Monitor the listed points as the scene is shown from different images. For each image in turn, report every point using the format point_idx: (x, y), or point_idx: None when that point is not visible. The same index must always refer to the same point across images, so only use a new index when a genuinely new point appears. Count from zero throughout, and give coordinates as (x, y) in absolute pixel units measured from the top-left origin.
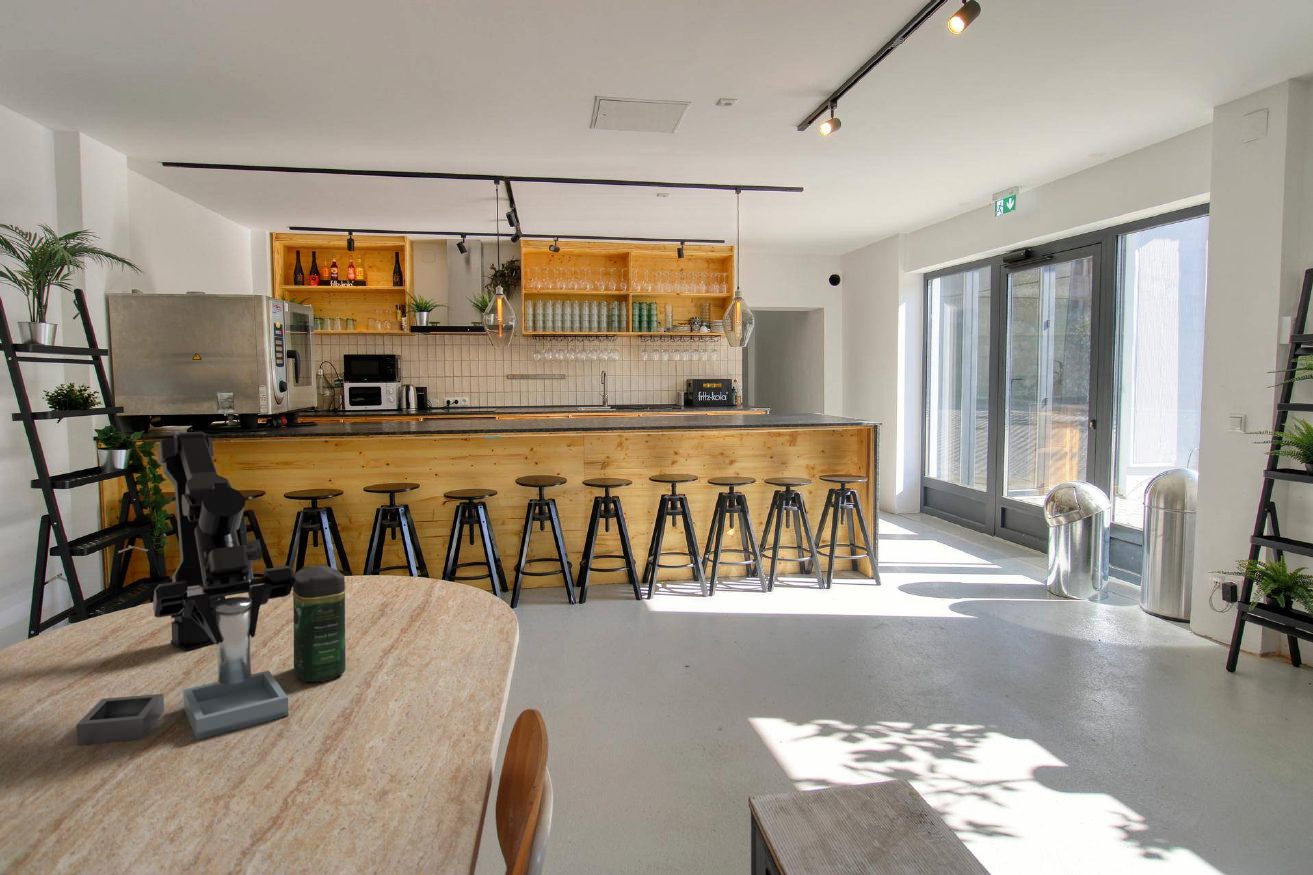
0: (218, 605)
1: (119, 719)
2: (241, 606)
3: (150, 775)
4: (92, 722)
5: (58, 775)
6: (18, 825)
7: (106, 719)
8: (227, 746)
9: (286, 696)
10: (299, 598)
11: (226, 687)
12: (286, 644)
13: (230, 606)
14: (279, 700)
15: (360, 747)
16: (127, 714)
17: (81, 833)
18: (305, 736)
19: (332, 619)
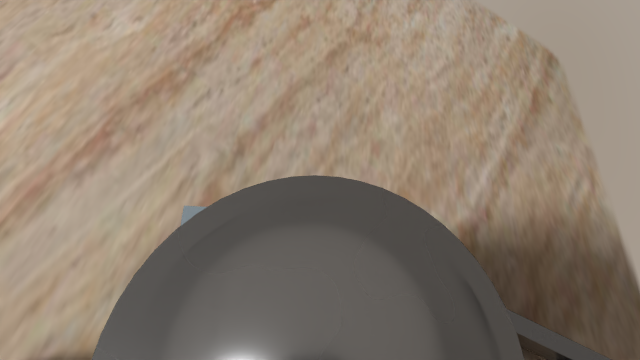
0: (482, 342)
1: (535, 330)
2: (276, 181)
3: (443, 149)
4: (587, 351)
5: (570, 239)
6: (578, 127)
7: (562, 349)
8: (330, 166)
9: (185, 212)
10: None
11: None
12: None
13: (372, 227)
14: (206, 207)
15: (152, 28)
16: None
17: (506, 66)
18: (206, 115)
19: None
